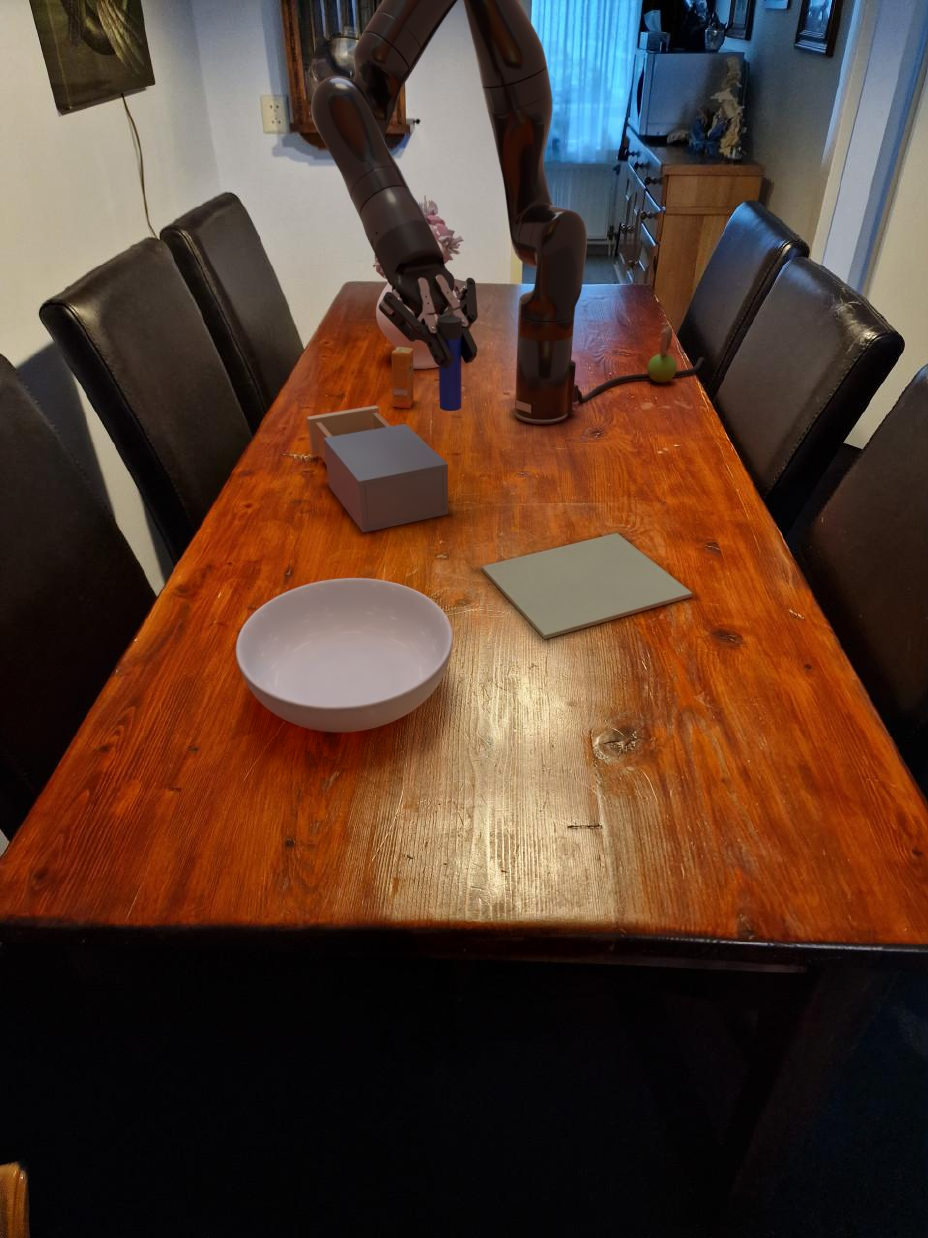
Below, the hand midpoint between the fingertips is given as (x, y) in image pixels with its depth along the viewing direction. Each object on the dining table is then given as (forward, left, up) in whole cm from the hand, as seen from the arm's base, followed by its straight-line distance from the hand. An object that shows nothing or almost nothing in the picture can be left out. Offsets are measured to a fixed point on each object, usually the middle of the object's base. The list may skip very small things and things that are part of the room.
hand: (459, 361), depth 100 cm
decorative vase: (-22, -67, -22) cm, 74 cm away
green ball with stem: (-58, -34, -22) cm, 71 cm away
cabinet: (+7, -10, -22) cm, 25 cm away
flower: (-34, -99, -22) cm, 107 cm away
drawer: (+7, -24, -21) cm, 33 cm away
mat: (-7, +21, -22) cm, 31 cm away
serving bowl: (+25, +28, -22) cm, 43 cm away
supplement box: (-9, -44, -22) cm, 50 cm away
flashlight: (0, -2, -6) cm, 7 cm away
